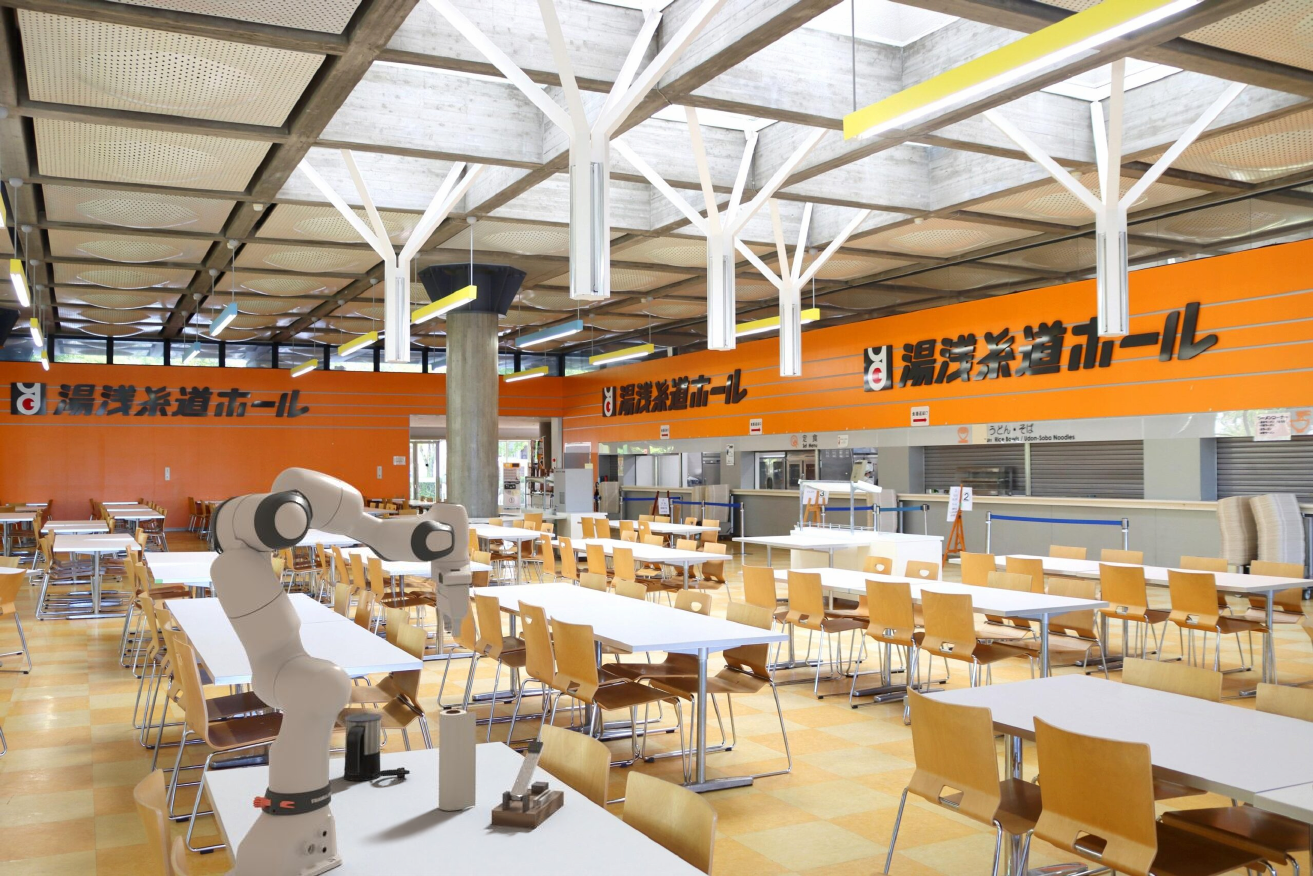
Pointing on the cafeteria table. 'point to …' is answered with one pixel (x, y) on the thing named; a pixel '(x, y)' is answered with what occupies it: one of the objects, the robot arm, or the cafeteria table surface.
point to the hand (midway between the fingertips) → (452, 633)
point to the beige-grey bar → (526, 771)
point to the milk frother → (365, 749)
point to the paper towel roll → (457, 759)
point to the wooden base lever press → (528, 807)
